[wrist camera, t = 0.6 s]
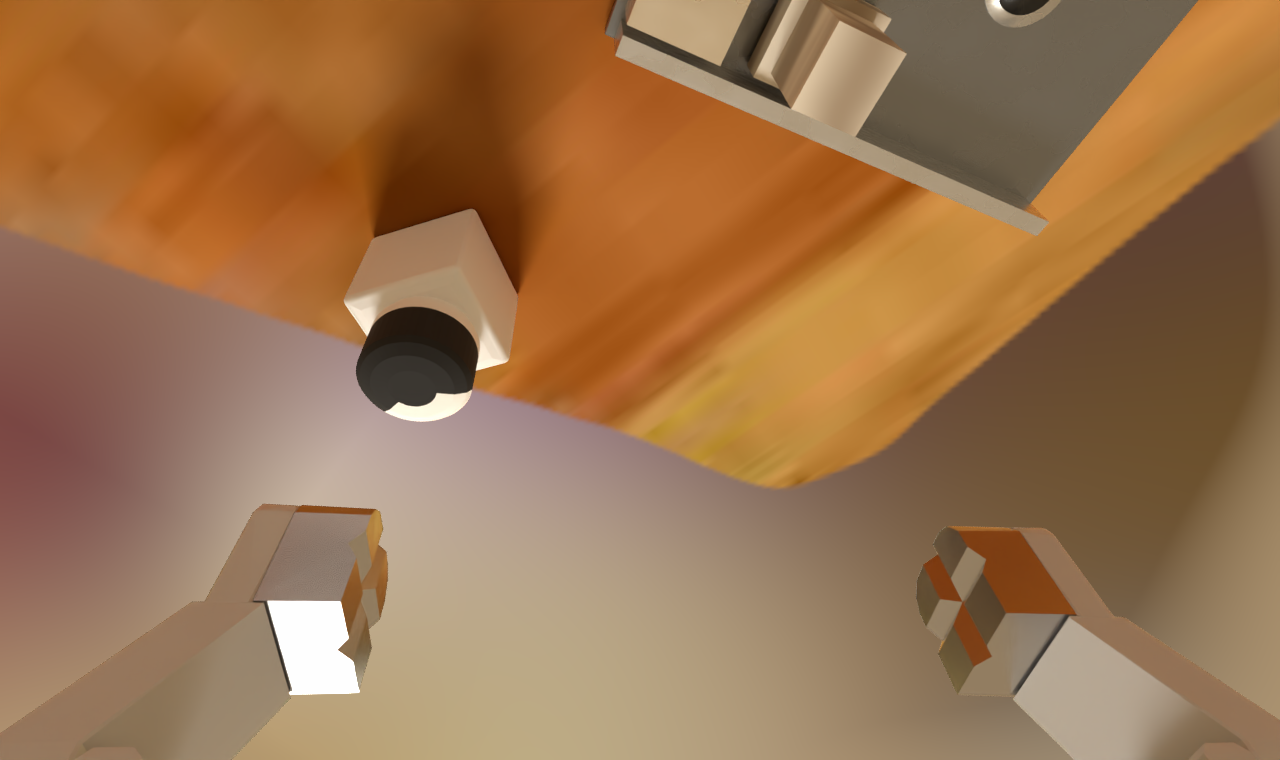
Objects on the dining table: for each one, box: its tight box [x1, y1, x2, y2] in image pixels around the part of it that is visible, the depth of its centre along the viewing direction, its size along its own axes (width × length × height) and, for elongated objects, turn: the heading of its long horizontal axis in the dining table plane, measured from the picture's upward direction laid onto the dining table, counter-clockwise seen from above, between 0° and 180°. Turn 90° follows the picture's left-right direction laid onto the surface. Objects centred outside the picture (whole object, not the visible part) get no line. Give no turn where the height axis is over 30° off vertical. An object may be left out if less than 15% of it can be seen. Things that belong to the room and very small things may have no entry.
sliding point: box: [747, 0, 907, 137], centre depth 33 cm, size 5×10×7 cm, turn 157°
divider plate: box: [605, 0, 1198, 236], centre depth 36 cm, size 28×14×4 cm, turn 67°
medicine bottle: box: [344, 209, 518, 421], centre depth 42 cm, size 7×7×12 cm
